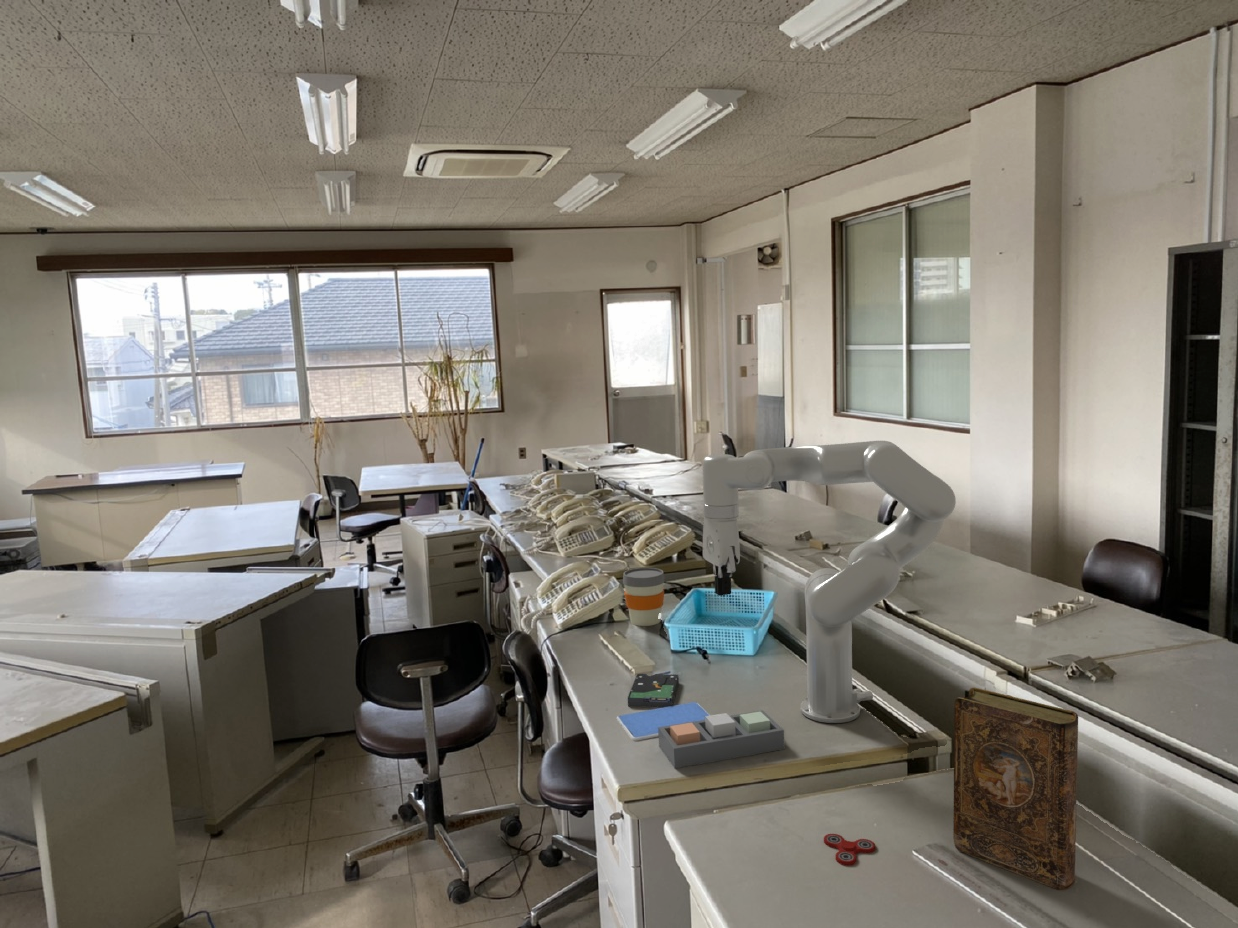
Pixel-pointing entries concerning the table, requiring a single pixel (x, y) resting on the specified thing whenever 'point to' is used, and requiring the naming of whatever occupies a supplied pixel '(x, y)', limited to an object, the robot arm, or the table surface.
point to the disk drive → (653, 690)
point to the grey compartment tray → (720, 743)
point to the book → (1016, 785)
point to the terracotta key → (684, 734)
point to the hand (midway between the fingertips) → (723, 593)
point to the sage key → (754, 722)
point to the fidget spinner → (848, 848)
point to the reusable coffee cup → (644, 595)
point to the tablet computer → (659, 719)
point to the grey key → (720, 725)
